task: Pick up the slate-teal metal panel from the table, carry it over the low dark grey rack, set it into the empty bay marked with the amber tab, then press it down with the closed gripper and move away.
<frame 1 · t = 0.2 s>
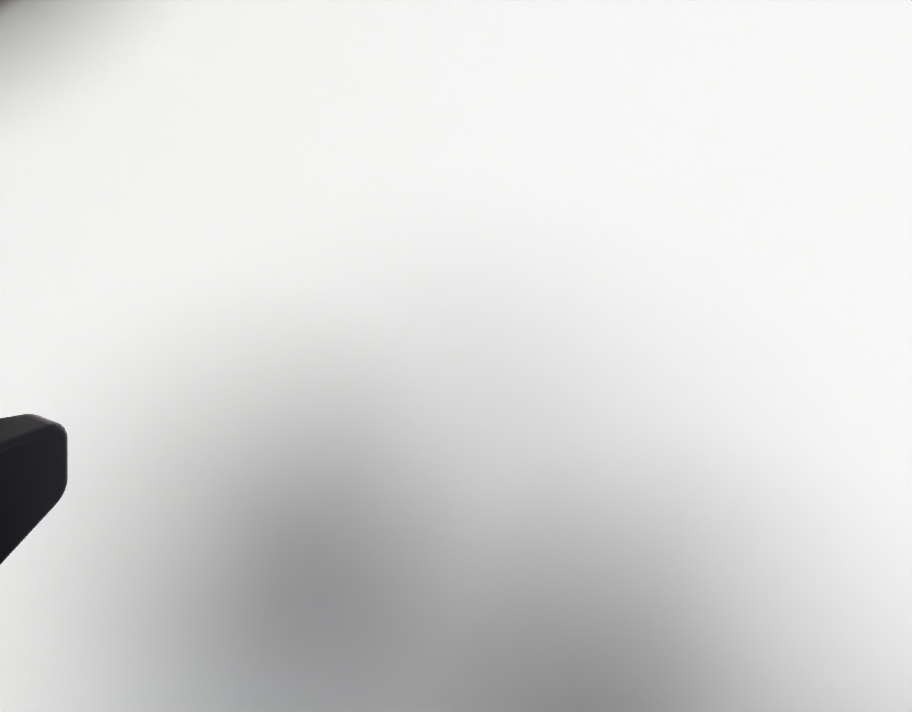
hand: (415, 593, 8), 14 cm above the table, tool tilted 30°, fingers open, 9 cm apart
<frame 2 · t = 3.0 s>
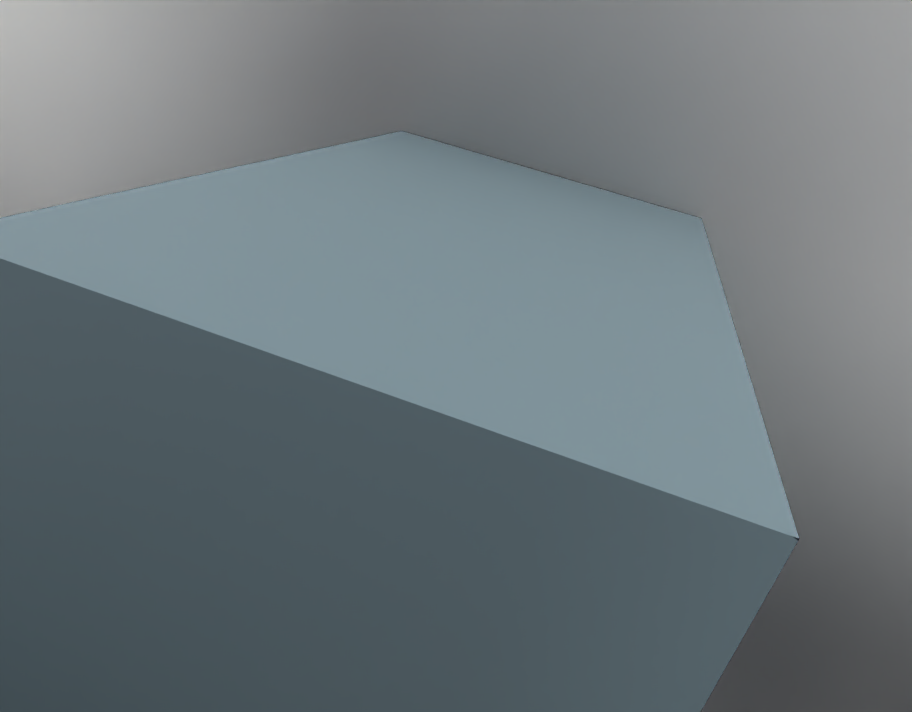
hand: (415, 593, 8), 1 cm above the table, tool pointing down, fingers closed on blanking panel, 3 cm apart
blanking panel: (441, 534, 9), on the table, touching gripper
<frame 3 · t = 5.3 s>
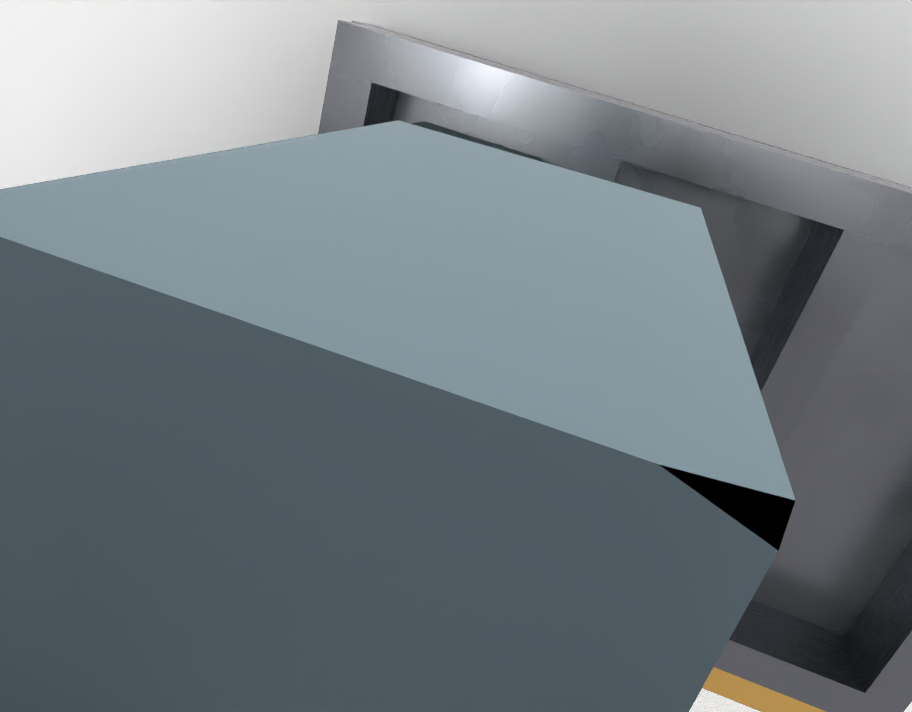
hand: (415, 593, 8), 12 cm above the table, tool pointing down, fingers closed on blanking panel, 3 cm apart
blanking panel: (439, 529, 9), point 11 cm above the table, touching gripper
fitted panel: (436, 307, 19), point 1 cm above the table, touching rack
rack: (637, 363, 19), on the table
when the fingers open (4 cm above the table, at t = 7.6 s): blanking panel drops 2 cm, resting on rack.
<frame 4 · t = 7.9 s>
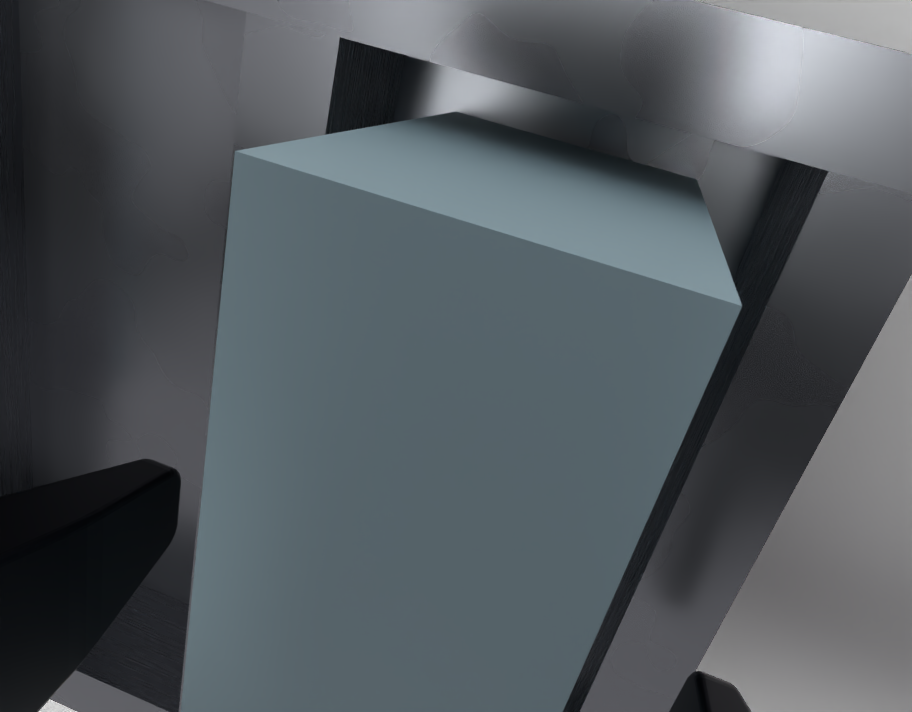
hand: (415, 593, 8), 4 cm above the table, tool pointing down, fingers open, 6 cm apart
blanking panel: (481, 452, 10), point 1 cm above the table, touching rack
rack: (187, 320, 12), on the table
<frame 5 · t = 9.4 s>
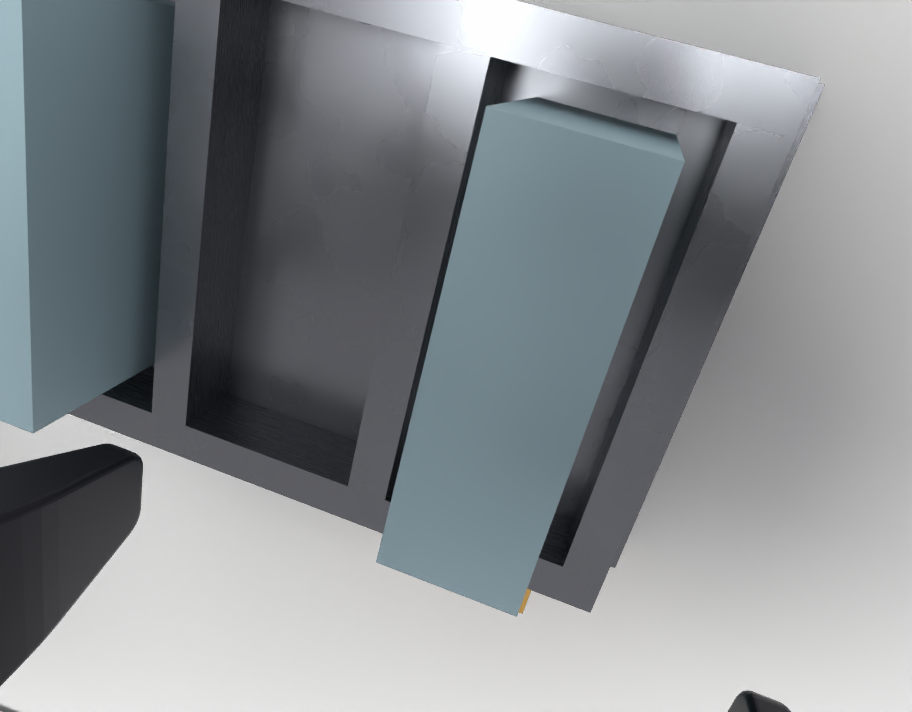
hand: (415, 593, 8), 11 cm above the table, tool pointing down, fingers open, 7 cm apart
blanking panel: (545, 309, 17), point 1 cm above the table, touching rack
fitted panel: (133, 182, 18), point 1 cm above the table, touching rack
rack: (345, 237, 18), on the table
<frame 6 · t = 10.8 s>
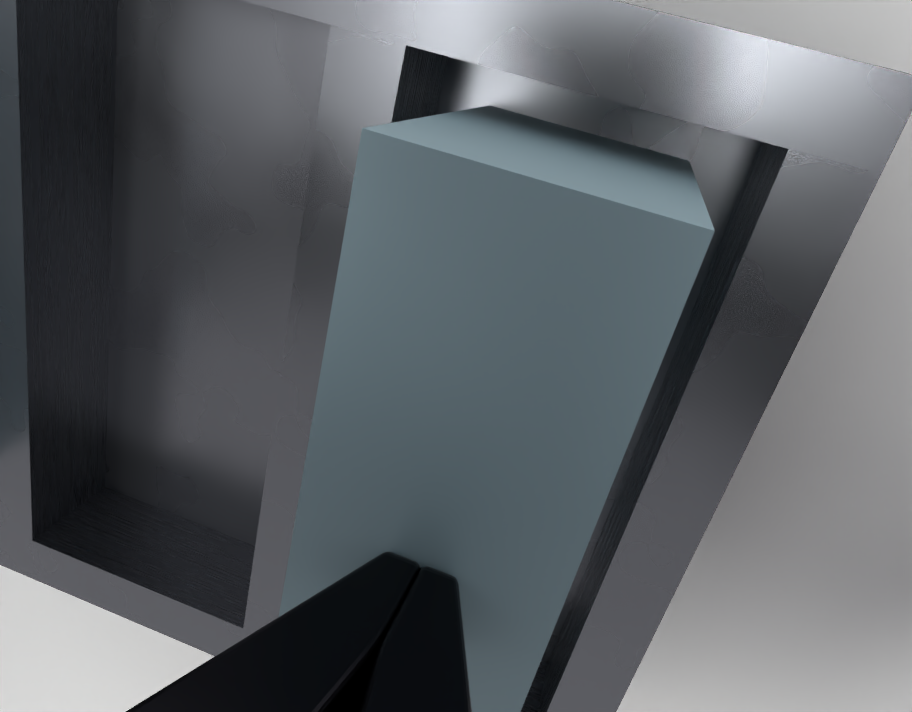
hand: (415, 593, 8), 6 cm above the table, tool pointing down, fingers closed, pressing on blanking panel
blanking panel: (506, 396, 12), point 1 cm above the table, touching gripper, rack
rack: (247, 289, 14), on the table
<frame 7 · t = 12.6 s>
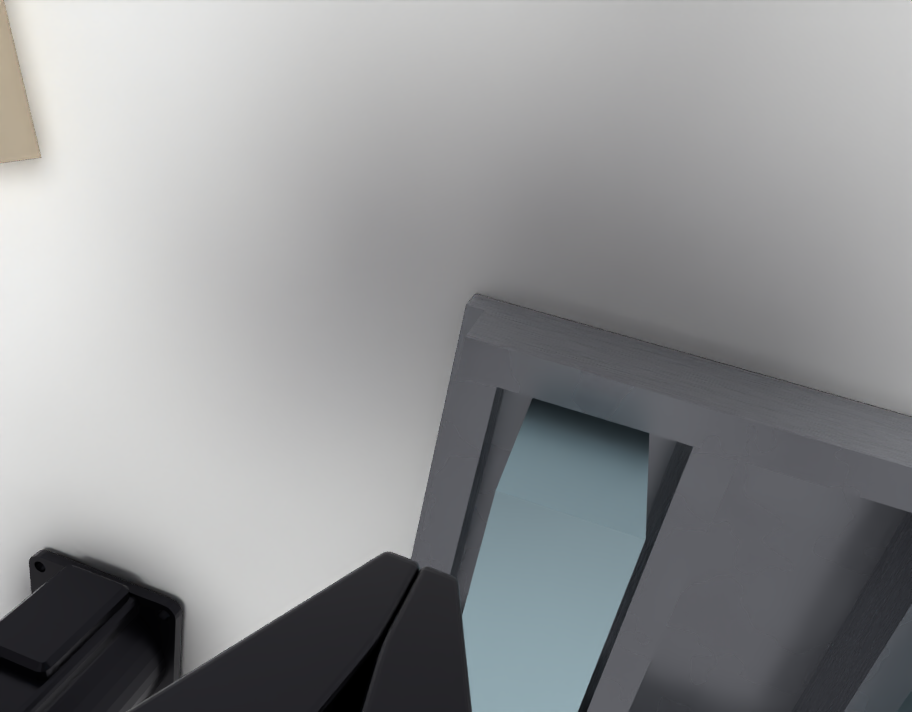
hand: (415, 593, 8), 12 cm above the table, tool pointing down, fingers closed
fitted panel: (549, 540, 20), point 1 cm above the table, touching rack
rack: (744, 583, 20), on the table
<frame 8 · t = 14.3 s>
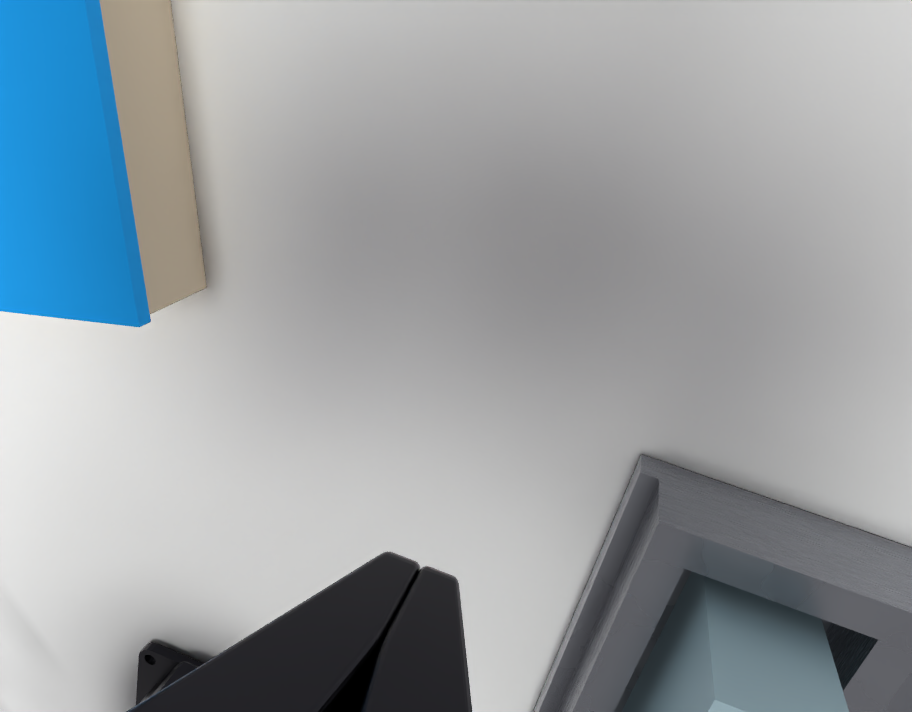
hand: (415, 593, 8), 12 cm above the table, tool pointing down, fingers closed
fitted panel: (693, 685, 21), point 1 cm above the table, touching rack
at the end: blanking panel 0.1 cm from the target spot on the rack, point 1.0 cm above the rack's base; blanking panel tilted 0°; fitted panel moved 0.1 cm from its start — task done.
